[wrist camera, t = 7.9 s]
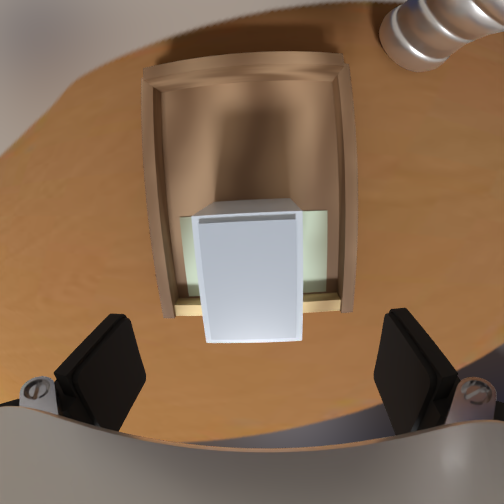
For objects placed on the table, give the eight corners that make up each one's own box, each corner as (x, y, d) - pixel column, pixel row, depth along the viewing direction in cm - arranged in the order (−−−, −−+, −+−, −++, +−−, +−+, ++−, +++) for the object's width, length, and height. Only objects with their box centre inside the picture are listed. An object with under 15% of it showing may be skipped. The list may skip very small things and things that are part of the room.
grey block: (289, 198, 23) (303, 211, 15) (292, 292, 25) (302, 342, 17) (213, 201, 23) (190, 217, 15) (222, 295, 25) (205, 344, 18)
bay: (339, 75, 21) (356, 55, 16) (344, 297, 26) (359, 323, 21) (154, 87, 21) (131, 71, 17) (173, 303, 27) (156, 329, 22)
